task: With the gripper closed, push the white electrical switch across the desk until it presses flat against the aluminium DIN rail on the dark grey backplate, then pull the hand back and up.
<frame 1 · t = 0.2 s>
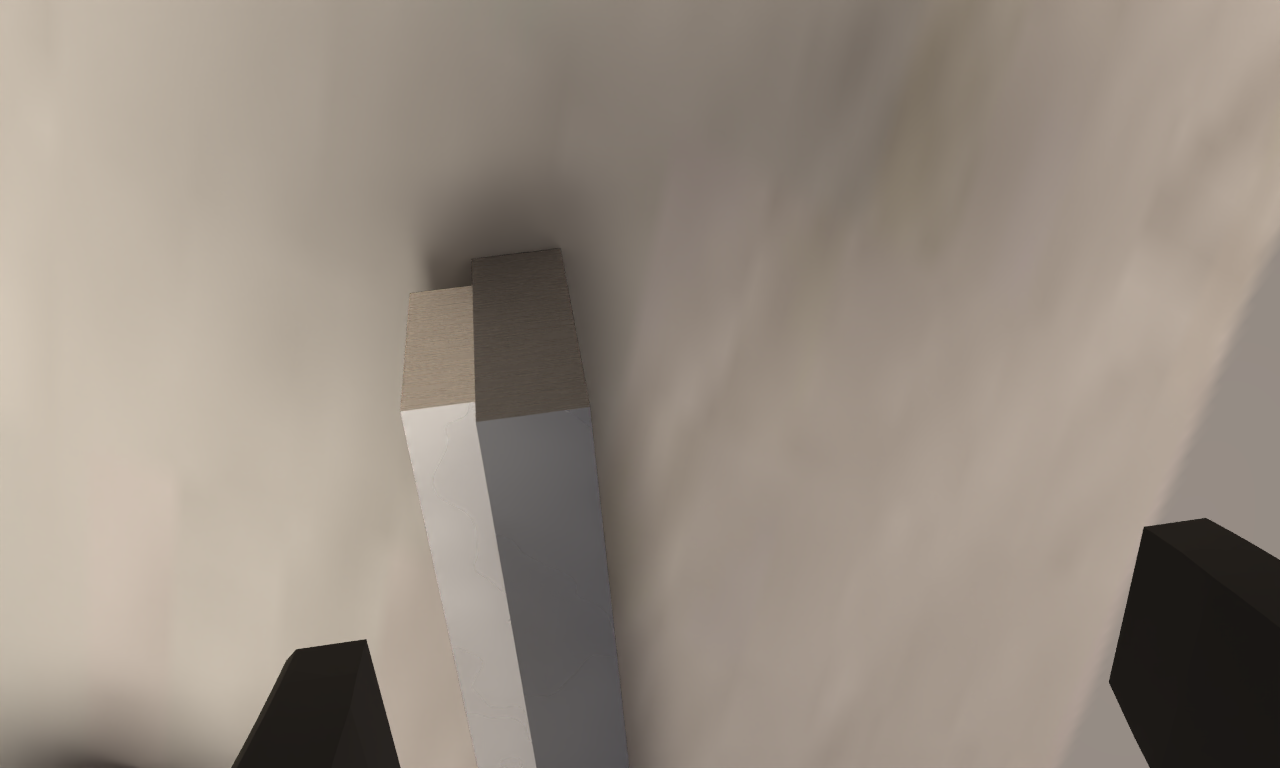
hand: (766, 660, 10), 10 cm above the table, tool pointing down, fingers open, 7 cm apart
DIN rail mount: (574, 673, 24), on the table
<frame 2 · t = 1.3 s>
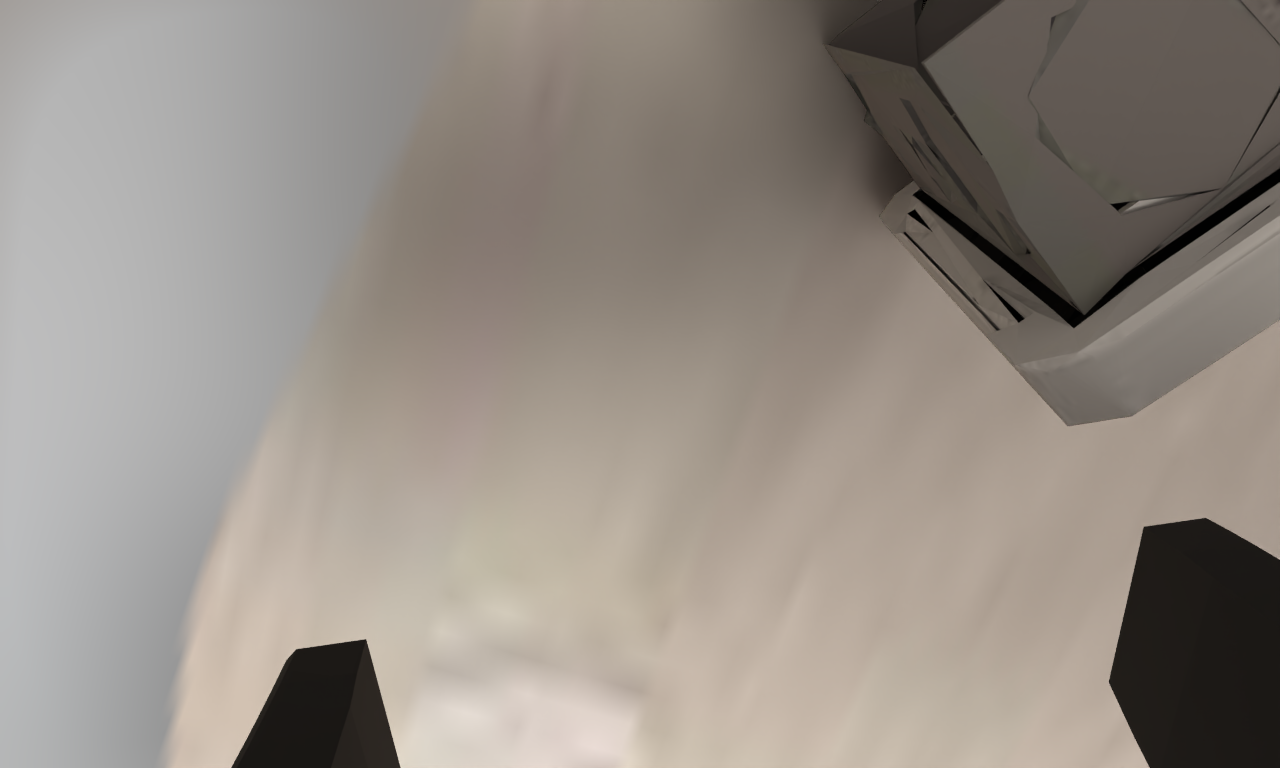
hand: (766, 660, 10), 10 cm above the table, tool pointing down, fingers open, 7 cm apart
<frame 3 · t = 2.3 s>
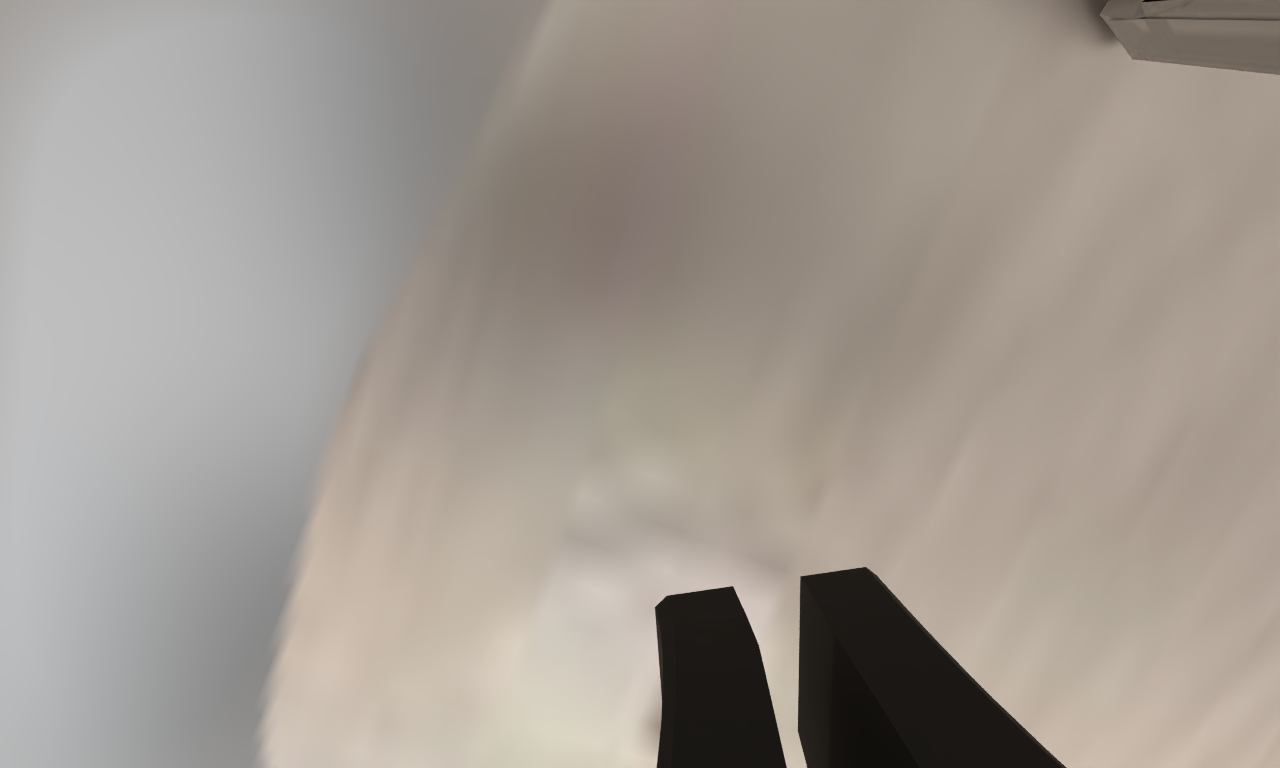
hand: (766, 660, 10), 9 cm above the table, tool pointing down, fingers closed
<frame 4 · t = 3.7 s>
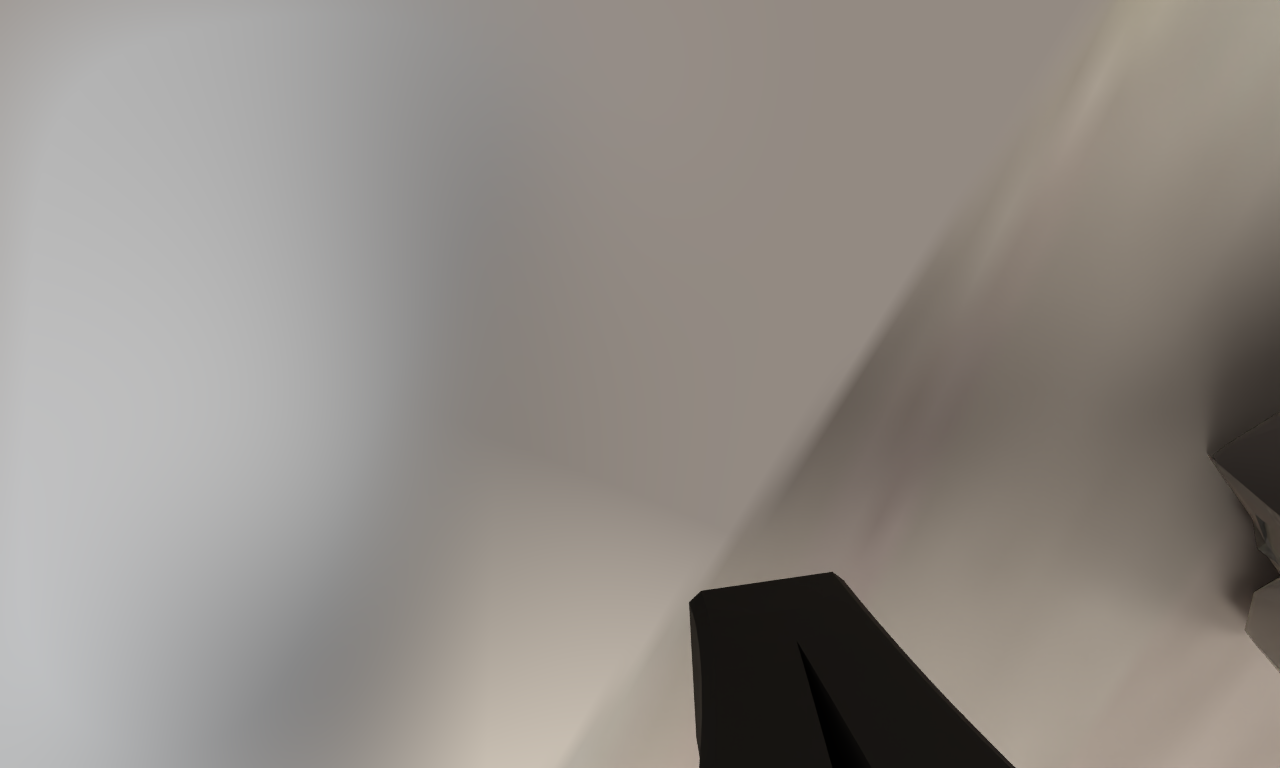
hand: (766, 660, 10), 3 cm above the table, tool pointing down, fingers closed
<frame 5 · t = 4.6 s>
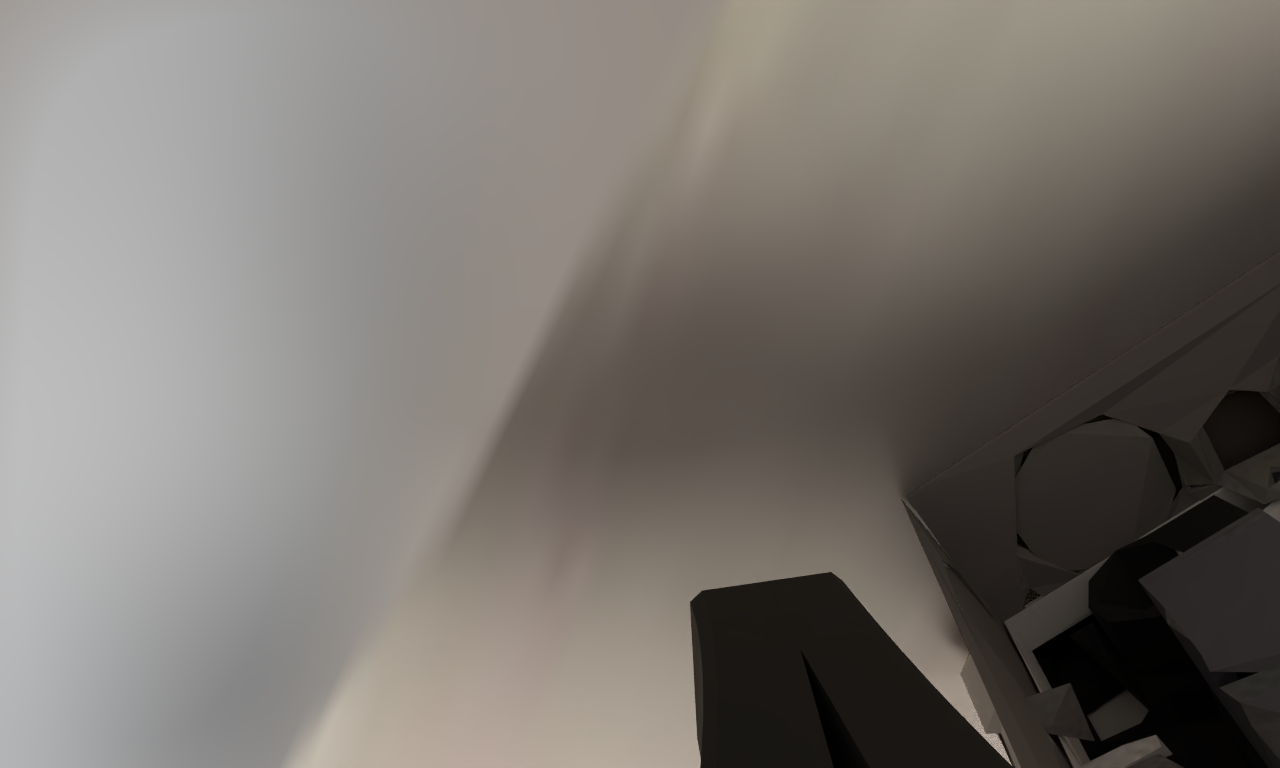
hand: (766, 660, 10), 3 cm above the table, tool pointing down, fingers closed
electrical switch: (1173, 376, 14), on the table, touching gripper
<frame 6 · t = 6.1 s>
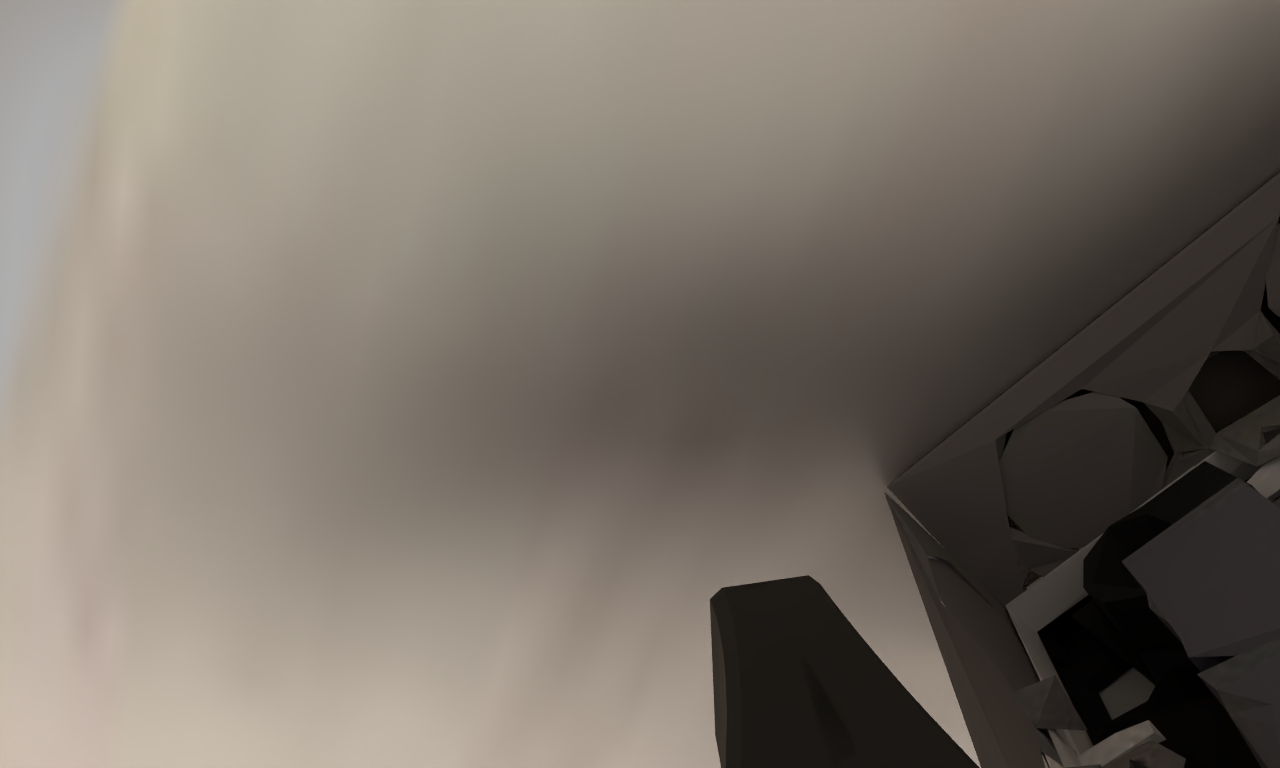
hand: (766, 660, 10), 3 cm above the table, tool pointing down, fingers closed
electrical switch: (1154, 341, 14), on the table, touching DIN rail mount, gripper
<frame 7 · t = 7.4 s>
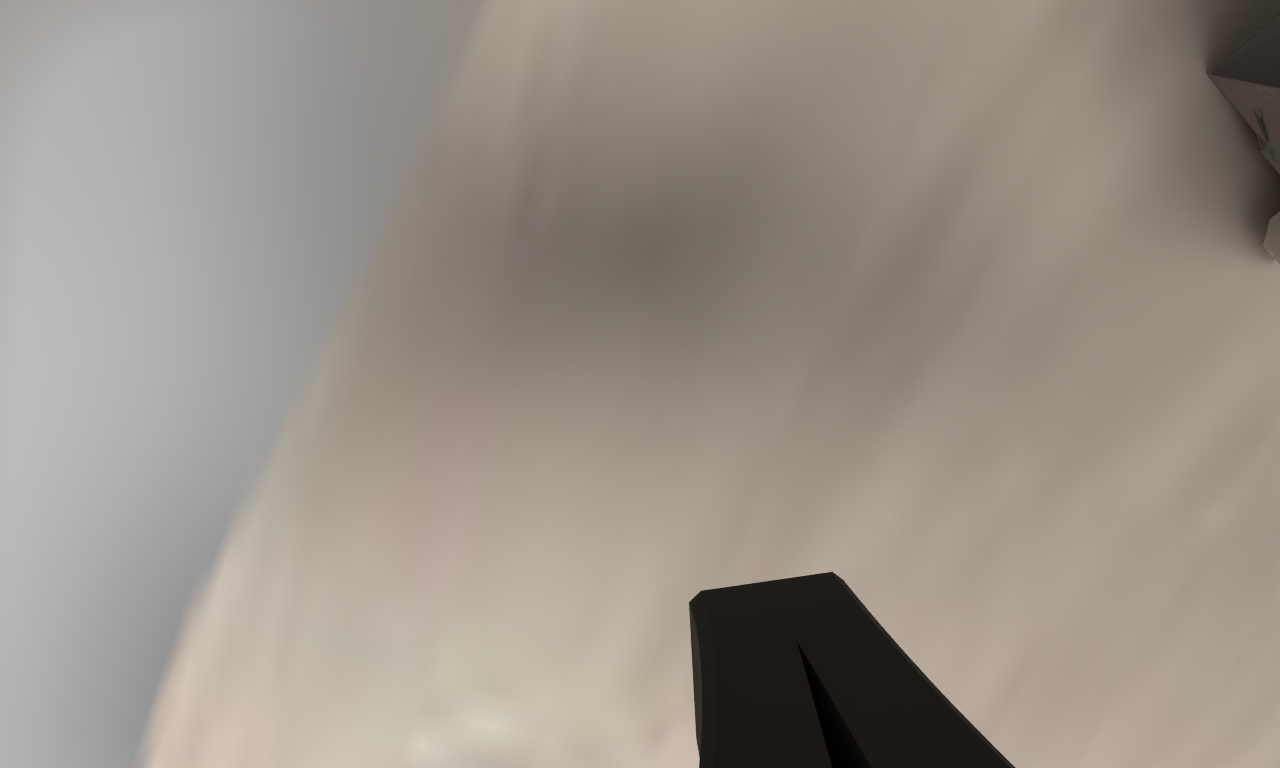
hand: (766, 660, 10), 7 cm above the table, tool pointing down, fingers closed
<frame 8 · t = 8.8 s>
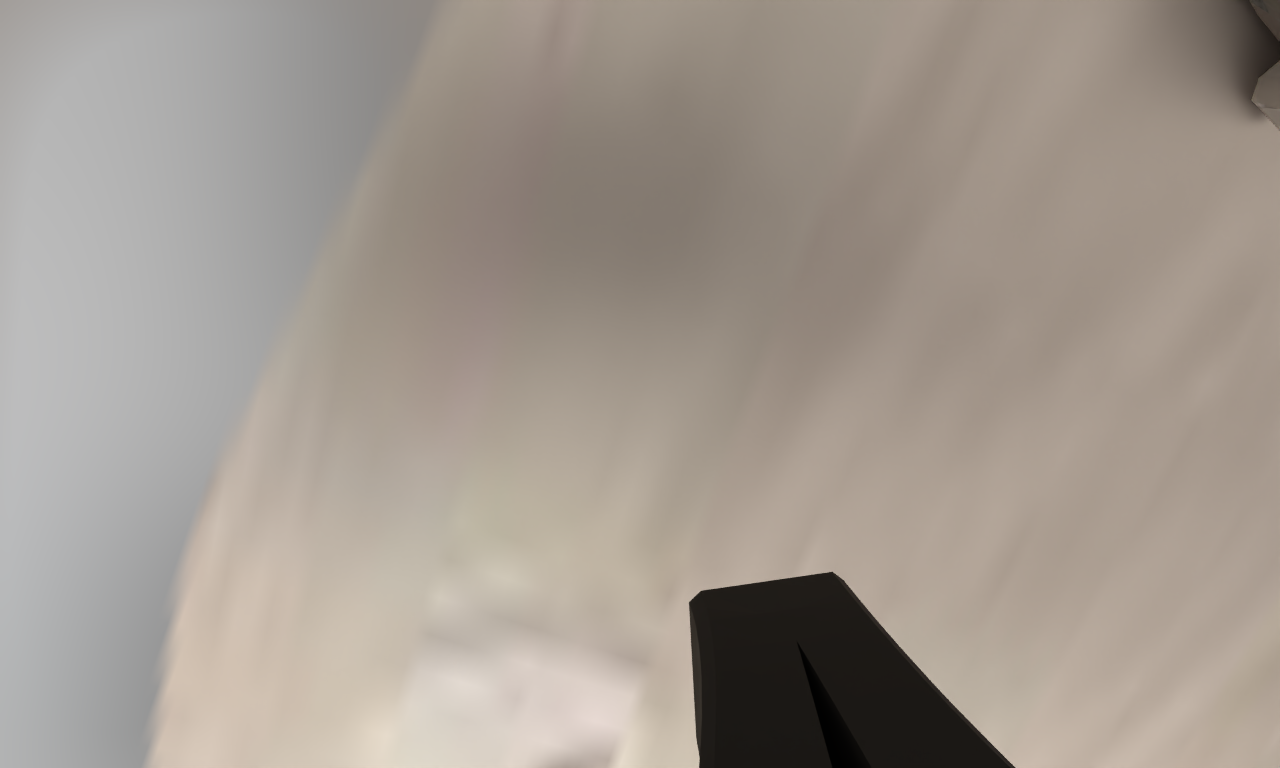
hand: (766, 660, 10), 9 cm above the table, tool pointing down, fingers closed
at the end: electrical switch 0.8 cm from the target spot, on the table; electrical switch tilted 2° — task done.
